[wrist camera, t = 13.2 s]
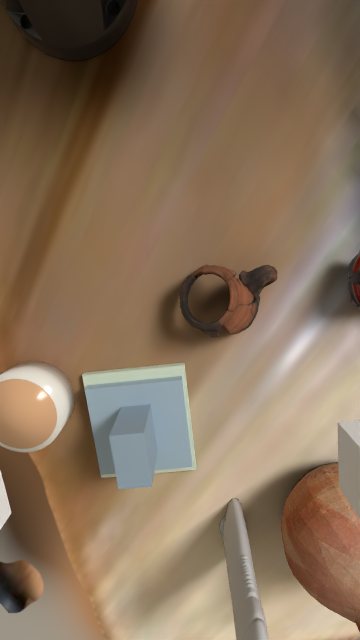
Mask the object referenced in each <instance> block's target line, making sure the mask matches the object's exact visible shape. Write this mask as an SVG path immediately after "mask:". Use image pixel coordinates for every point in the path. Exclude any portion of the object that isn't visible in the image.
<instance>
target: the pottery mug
mask: <svg viewBox="0 0 360 640" xmlns="http://www.w3.org/2000/svg"><path fill="white" fill-rule="evenodd" d="M203 274H205V275H206V274H215V275H217V276H219V277H221V278H222V279H223V280H224V281H225V282H226V283H227V286H228V288H229V292H230V301H229V306H228V308H227V310H226V312H225V313H224V315H223V316H222V317H221V318H220V319H218V320H217V321H215V322H212V323H202V322H200V321H198V320H196V319H195V318H194V317H193V315H192V314H191V312H190V310H189V307H188V294H189V291H190V288H191V286H192V284H193V283H194V282H195V281H196V279H197V278H198V277H199V276H201V275H203ZM235 275H236V273H235V272H234V271H232V270H230V269H227V268H225V267H220V266H208V265H204V266H202V267H201V268H199V269H198V270H197V271H195V272H194V274H193V275H190V276H188V277H187V279H186V280H185V282H184V284H183V286H182V289H181V292H180V308H181V311H182V314H183V316H184V317H185V319H186V320H187V321H188V322H189V324H190V325H191V326H192V327H193V328H198V329H200V330H201V331H202V332H203V333H205V334H208V335H209V336H210V337H219V336H220V335H219V332H220V330H221V328H222V326H224V327H225V328H226V329H227V330H228V332H229V333H230V334H237V333H240V332H242V331H244V330H245V329H247V328H248V327H249V326H250V325H251V324H252V322H253V320H254V319H255V317H256V314H257V311H258V306H259V300H260V297H259V294H260V292H261V290H262V289H263V288H264V287H266V286H267V285H269V284H271V283H273V282H274V281H276V280H277V270H276V269H275V268H274V267H272V266H269V265H264V266H261V267H259V268H256V269H254V270H252V271H250V272H245V271H242V272H241V273H240V274H239V279H240V280H239V279H236V278H235ZM253 299H254V300H253Z"/></svg>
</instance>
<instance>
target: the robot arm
mask: <svg viewBox="0 0 360 640" xmlns="http://www.w3.org/2000/svg"><path fill="white" fill-rule="evenodd" d="M0 1H1V3H2V5H3V7H4V8H5V10H6V12H7V14H8V15H9V17H10V18H11V20H12V21H13V22H14V24H15V25H16V26H17V27H18V29H19V30H20V31H21V33H22V34H23V35H24V36H25V37H26V39H27V40H28V41H29V42H31V43H32V44H33V45H34V46H35V47H37V48H38V49H39V50H41V51H43V52H44V53H46V54H48V55H51V56H53V57H56V58H59V59H64V60H84V59H89V58H92V57H95V56H97V55H99V54H101V53H103V52H105V51H106V50H108V49H109V48H110V47H111V46H113V45H114V44H115V43H116V42H117V41H118V40H119V39H120V37H121V36H122V35H123V33H124V32H125V30H126V29H127V27H128V25H129V23H130V21H131V19H132V17H133V14H134V11H135V8H136V4H137V0H0ZM338 467H339V487H340V489H341V491H342V492H343V494H344V495H345V497H346V498H347V500H348V502H349V503H350V505H351V506H352V508H353V510H354V511H355V513H356V514H357V516H358V517H359V519H360V421H359V420H355V421H343V422H338ZM10 514H11V510H10V506H9V502H8V498H7V494H6V490H5V486H4V483H3V479H2V475H1V471H0V529H1V528H2V526H3V525H4V523H5V522H6V520H7V519H8V517H9V516H10Z"/></svg>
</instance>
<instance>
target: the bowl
mask: <svg viewBox="0 0 360 640" xmlns="http://www.w3.org/2000/svg"><path fill="white" fill-rule="evenodd" d="M74 405H75V396H74V391H73V388H72V386H71V384H70V382H69V380H68V379H67V378H66V376H65V375H64V374H63V373H62V372H61V371H59V370H58V369H57V368H55V367H53V366H51V365H49V364H47V363H44V362H39V361H27V362H22V363H19V364H17V365H15V366H13V367H11V368H10V369H8V370H7V371H5V372H4V373H2V374H1V375H0V446H2V447H4V448H7V449H10V450H12V451H17V452H33V451H37V450H40V449H42V448H44V447H46V446H48V445H49V444H50V443H51V442H53V440H54V439H55V438H56V437H57V435H58V434H59V433H60V431H61V430H62V428H63V427H64V425H65V424H66V423H67V421H68V420H69V418H70V417H71V415H72V413H73V410H74Z"/></svg>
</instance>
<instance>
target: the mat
mask: <svg viewBox="0 0 360 640" xmlns="http://www.w3.org/2000/svg"><path fill="white" fill-rule="evenodd" d="M175 376H182V381H183V389H184V398H185V406H186V414H187V422H188V431H189V439H190V447H191V455H192V467H186V468H175V469H163V470H155V471H154V473H163V472H175V471H186V470H197V467H196V457H195V449H194V441H193V432H192V424H191V415H190V407H189V398H188V390H187V381H186V373H185V364H184V363H175V364H166V365H156V366H146V367H136V368H126V369H116V370H106V371H97V372H87V373H84V374H83V375H82V377H83V383H84V388H86V387H87V386H88V385H95V384H105V383H115V382H125V381H135V380H145V379H155V378H165V377H175ZM105 477H116V474H105V475H101V478H105Z"/></svg>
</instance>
